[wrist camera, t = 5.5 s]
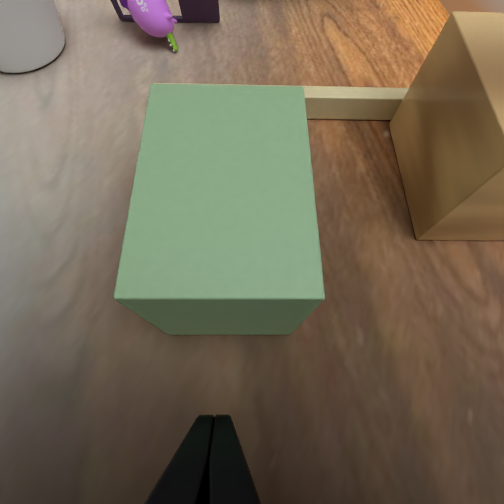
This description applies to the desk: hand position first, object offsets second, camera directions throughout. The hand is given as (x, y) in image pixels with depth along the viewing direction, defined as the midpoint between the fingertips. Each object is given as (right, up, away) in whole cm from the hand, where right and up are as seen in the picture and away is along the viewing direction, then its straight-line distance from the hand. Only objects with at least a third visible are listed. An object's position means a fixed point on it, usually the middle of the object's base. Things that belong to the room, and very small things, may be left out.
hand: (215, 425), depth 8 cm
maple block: (+15, +10, +14) cm, 23 cm away
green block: (0, +4, +11) cm, 12 cm away
